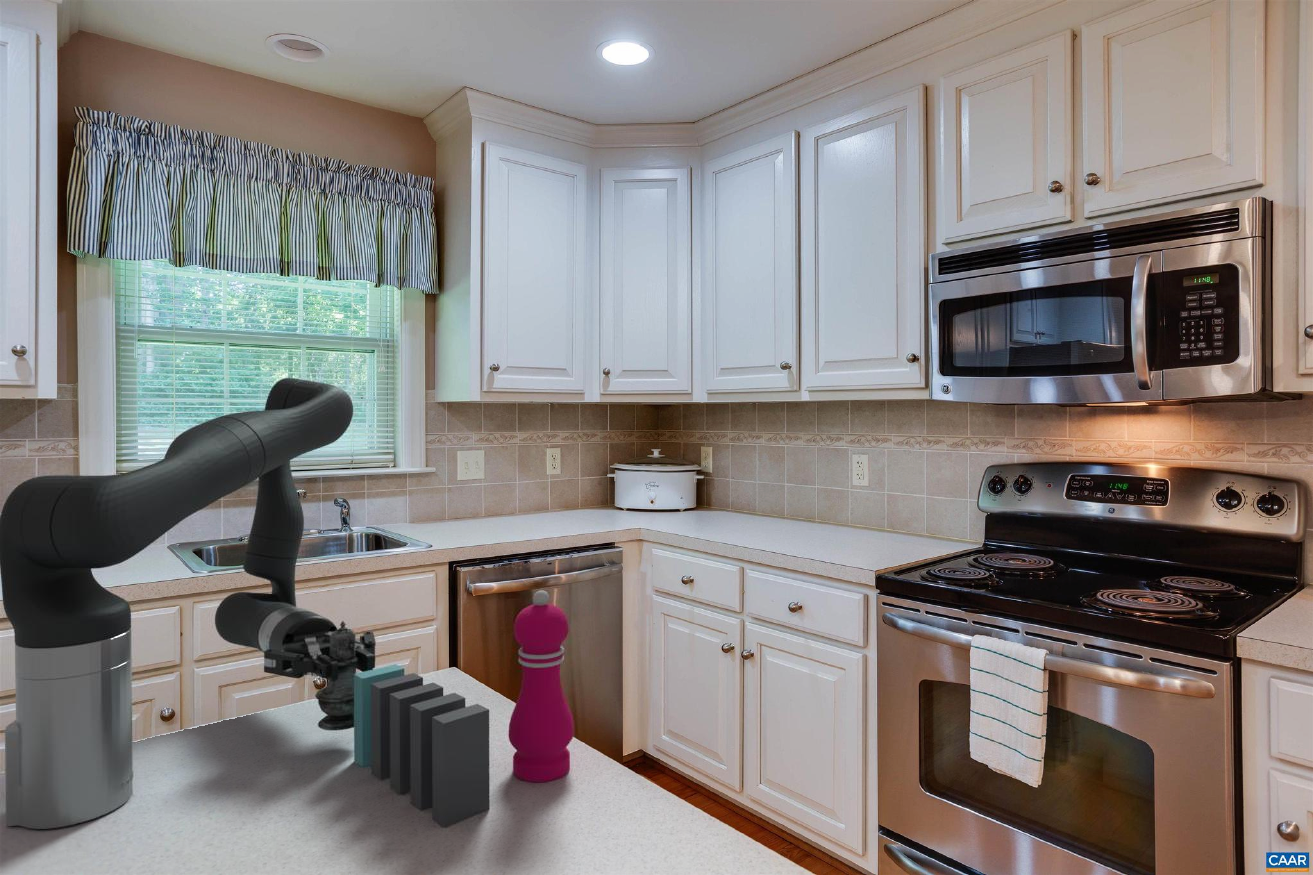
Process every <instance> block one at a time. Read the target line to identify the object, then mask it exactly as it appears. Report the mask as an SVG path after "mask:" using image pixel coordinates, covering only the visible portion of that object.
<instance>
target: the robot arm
mask: <svg viewBox="0 0 1313 875" xmlns="http://www.w3.org/2000/svg"><path fill="white" fill-rule="evenodd" d="M353 404H354V403H353V402H352V399H351V397H350V395H349V394H348V392H347V391H345V389H343V388H341V387H339V386H336V385H334V384H331V383H330V384H329V383H324V382H319V381H314V380H313V381H312V380H306V379H302V378H295V377H294V378H293V377H286V378H285V377H284V378H281V379H279V380H278V381H277V382H276V383H275V384H274V385H273V386H272V388H271V389H270V391H269V393H268V396H267V399H266V402H265V406H264V410H252V411H241V412H236V413H229V414H224V415H220V416H218V417H214V418H212V419H210V420H207V421H205V422H202V423H200V424H197V425H195V426H191V427H190V428H188V429H187V430H185V431H183V432H182V433H180V434H178V435H177V436H176V437H175V438H174V440H173V441H172V442H171V443H170V445H169V446H168V448H167V451H166V452H165V455H164V458H163V459H161V460H159V461H156V462H154V463H152V464H148V465H146V466H143V467H141V468H138V469H135V470H132V471H127V472H123V473H118V474H108V475H72V474H71V475H69V474H68V475H65V474H64V475H63V474H62V475H61V474H57V475H56V474H55V475H41V476H35V477H32V478H28V479H27V480H25V481H23V482H21V483H20V484H18V485H17V486H16V487H15V488H13V490H12V491H11V492H10V493H9V495H8V496H7V498H6V500H5V501H4V504H3V507H2V509H1V513H0V580H1V581H0V582H1V595H2V596H1V597H2V605H3V609H4V613H5V615H6V617H7V619H8V620H9V622H10V624H11V626H12V628H13V631H14V632H13V633H14V672H15V673H14V674H15V678H14V679H15V680H14V682H15V720H14V721H12V722H11V723H9V724H8V725H7V726H6V727H5V730H4V765H5V766H4V773H5V774H4V775H5V777H4V778H5V779H4V781H5V785H4V786H5V826H6V827H12V826H14V827H15V826H20V827H23V828H25V829H26V828H28V829H33V830H34V829H35V830H42V829H43V830H47V829H48V830H49V829H54V828H63V827H67V826H73V825H76V824H79V823H85V822H87V821H90V820H93V819H96V818H99V817H101V816H104V815H106V814H108V813H110V812H112V811H114V810H116V809H118V808H120V807H121V806H122V805H124V804H125V803H126V802H127V801H128V800H130V799H131V797H132V796H133V778H134V769H133V766H134V765H133V680H132V679H133V672H132V670H133V668H132V661H133V660H132V659H133V658H132V611H131V610H132V609H131V606H130V605H131V604H129V602H128V601H127V599H125V598H123V597H122V596H121V597H120V596H119V595H117V594H115V593H113V592H111V591H109V590H108V589H106V588H104V586H102V585H101V584H100V583H99V582H98V581H97V580H96V578H95V577H94V574H93V571H92V569H104V568H108V567H109V568H110V567H112V566H116V565H120V564H121V563H124V562H126V561H128V560H130V559H132V558H133V557H135V555H136V556H137V554H139V553H141V552H142V551H143V550H145V549H147V547H149V546H150V545H152V544H154V542H156V541H157V540H158V539H159V538H161V537H162V536H164V535H165V534H166V533H168V532H169V531H170V530H171V529H173V528H174V527H175V526H177V525H179V523H181V522H182V521H184V520H185V519H187V518H188V517H190V516H191V515H194V514H195V513H197V512H199V511H201V510H203V509H205V508H207V507H209V506H210V505H212V504H213V503H215V502H217V501H219V500H220V499H222V498H225V497H226V496H228V495H230V494H232V493H234V492H236V491H239V490H240V489H241V488H244V487H245V486H247V485H249V484H250V483H252V482H254V481H256V480H257V479H258V481H257V482H258V484H257V486H258V487H257V498H256V503H255V511H254V515H253V519H252V520H253V521H252V524H251V528H250V533H249V536H248V541H247V544H246V548H245V552H244V557H243V562H242V564H243V565H242V568H243V571H244V572H245V573H246V574H248V575H250V576H253V577H256V578H261V579H263V580H266V581H268V582H270V586H271V593H268V592H267V593H264V592H249V591H238V592H234V593H232V594H229V595H227V597H225V598H224V599H223V600H222V601H221V602H220V603H219V605H218V606H217V609H216V611H215V615H214V625H215V628H216V632H217V633H218V635H219V637H221V639H223V641H226V642H227V643H230V644H233V645H236V646H238V645H239V646H242V647H247V648H254V649H258V650H259V651H260V652H262V653H263V672H264V673H266V674H267V673H268V674H271V675H277V676H281V677H287V678H293V679H302V678H303V677H304V676H309V675H310V676H311V677H320V678H321V679H326V680H327V681H328V680H329V681H335V680H337V679H338V662H337V661H336V660H334V659H332V658H330V636H331V634H332V633H333V632H334V631H335V630H338V629H339V628H338V627H337V626H336V625H335V623H334V622H333V621H332V620H331V619H328V618H327V617H325V616H323V615H319V614H318V613H315V612H314V611H311V610H308V609H306V608H302V607H299V606H297V601H296V600H297V598H296V567H297V566H296V565H297V560H298V556H299V551H300V547H301V543H302V539H303V535H304V528H305V526H304V524H305V519H304V518H305V517H304V510H303V507H302V503H301V500H300V496H299V494H298V491H297V488H296V484H295V482H294V478H293V474H292V470H291V461H292V460H293V459H295V458H298V457H299V456H302V455H305V454H308V453H309V452H313V451H315V450H318V449H321V448H323V447H327V446H329V445H331V444H333V443H335V442H337V441H338V440H339V439H340V438H341V437H342V436H343V435H344V434H345V433H346V431H347V430H348V428H349V427H350V424H351V422H352V419H353V416H354V405H353ZM355 656H357V657H358V658H359V660H358V661H357V662H356V670H359V671H360V672H365V671H369V670H374V669H376V638H375V635H374V632H373V631H365V632H363V633H362V635H361V634H360V635H359V638H355Z"/></svg>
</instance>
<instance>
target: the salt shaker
mask: <svg viewBox="0 0 1313 875" xmlns="http://www.w3.org/2000/svg"><path fill="white" fill-rule="evenodd" d="M346 625H347V624H346V623H345V621H344V620H342V621H341V622H340V624H339V626H340V627H339V628H337V629H338V630H335V631H334V632H333V633H332V634H331V636H330V658H332V659H334V660H336V661H337V662H338V679H337V680H335V681H329V680H327V683H326V684H327V685H326V686H325V687H323V688H321V689H320V690H318V691H317V692H316V693H315V696H314V697H315V699H316V700H317V701H318V706H319V708H320V710H321V712H323V713H324V714H325V715H326V716H324V717H323V718H321V720H319V721H318V723H317V727H318V728H320V729H321V730H324V731H343V730H349V729H352V728H353V729H354V674H356V673H357V669H356V662H357V661H358V660H359V658H358V657H357V656H355V639H357V638H356V633H355V631H354V630H352V629H351V628H348V627H346Z"/></svg>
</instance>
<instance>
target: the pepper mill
mask: <svg viewBox="0 0 1313 875" xmlns="http://www.w3.org/2000/svg"><path fill="white" fill-rule="evenodd" d="M532 598H533V599H532V601H533V603H534V604H531V605H528V606H527V607H524V608H523V609H521V611H519V613H518V615H516V618H515V621H514V624H513V636H514V638H515V641H516V642H518V644H519V645H520V648H519V649H518V651H517V652H518V655H519V658H518V663H519V664H520V665H522V666H521V667H522V681H521V687H520V688H521V689H520V692H519V695H518V698H517V701H516V702H515V703H516V704H515V706H514V708H513V710H512V713H511V716H510V721H509V725H508V741H509V742H510V744H511V746H512V747H513V748H514V749H515V750H516V751H515V752H514V754H513V756H512V771H513V774H514V776H515V777H516V778H517V779H520V780H521V781H525V782H529V783H544V782H545V783H546V782H547V783H548V782H550V781H555V780H558V779H560V778H561V777H564V776H565V775H566V774H567V773H568V772H569V770H570V767H571V766H570V765H571V752H570V751H569V749H568V748H567V747H568V746H569V745H570V743H571V742H572V740H573V738H574V736H575V725H574V724H575V723H574V718H573V715H572V714H573V713H572V710H571V708H570V706H569V704H568V702H567V700H566V697H565V694H564V692H563V687H562V682H561V664H562V663H563V662H564V660H565V657H564V652H565V647H564V646H562V644H563V643H564V641H565V640H566V639H567V637H568V635H569V630H570V629H569V621H568V617H567V616H566V613H565V611H564V610H562V609H561V608H560V607H558V606H556V605H554V604H552V603H549V602H550V596H549V593H548V592H547V591H546V590H538V591H536V592H534V594H533V597H532Z"/></svg>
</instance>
